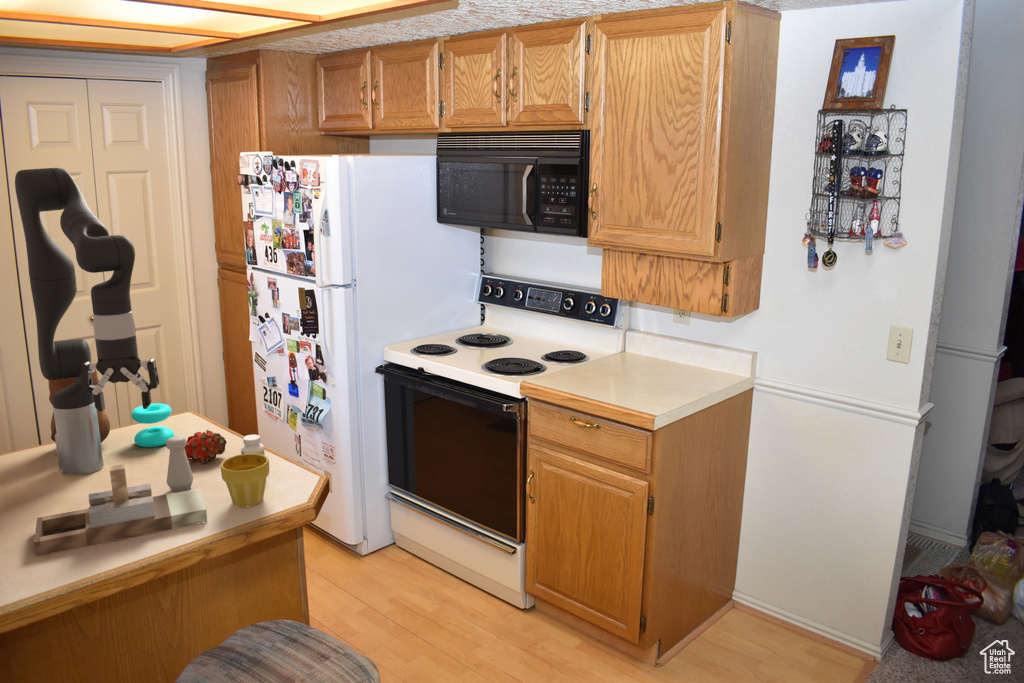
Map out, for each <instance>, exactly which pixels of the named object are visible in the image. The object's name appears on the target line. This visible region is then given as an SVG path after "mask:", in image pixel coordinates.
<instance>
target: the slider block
mask: <svg viewBox="0 0 1024 683" xmlns="http://www.w3.org/2000/svg"><path fill="white" fill-rule="evenodd" d="M108 467H109V476H110V484H111V490H112V493H113V500H110V501H105V502H106V504H110V503H116V502H121V501H127V500H132V499H137V496H133V497H128V491H127V488H128V485H127V477H126V468H125V463H122V464H116V465H110V466H108Z"/></svg>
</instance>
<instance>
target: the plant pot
mask: <svg viewBox="0 0 1024 683" xmlns="http://www.w3.org/2000/svg"><path fill="white" fill-rule="evenodd" d="M220 474H221V478H222V481H223V482H224V483H225V485H226V487H227V489H228V493H229V496H230V498H231V499H230V500H231V502H232V504H233V506H235V507H237V506H238V508H248V507H247V506H251V507H253V506H252V505H254V506H256V505H255V504H257V505H259V504H260V503H261V502H263V500H264V495H265V489H266V482H267V477H268V476H269V474H270V460H269V458H268V456H267V455H265V456H264V455H262V454H255V453H248V454H236V455H232V456H229V457H228V458H226V459H224V460H223V461H222V462H221V463H220ZM258 503H259V504H258Z"/></svg>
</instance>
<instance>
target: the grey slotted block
mask: <svg viewBox="0 0 1024 683" xmlns="http://www.w3.org/2000/svg"><path fill="white" fill-rule="evenodd" d="M151 486H152V485H151V483H146V484H139V485H135V486H134V485H133V486H130V487H128V486H127V491H128V497H133V496H137V499H132V500H127V501H121V502H116V503H110V504H106V502H105V501H110V500H113V493H112V489H111V490H106V491H101V492H100V491H99V492H95V493H89V494H88V504H89V507H88V508H89V518H90V525H91V529H97V528H102V527H107V526H112V525H118V524H123V523H128V522H133V521H138V520H144V519H149V518H154V517H155V510H154V502H153V497H154V496H153V495H152V487H151Z"/></svg>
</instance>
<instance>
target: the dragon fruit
mask: <svg viewBox="0 0 1024 683" xmlns="http://www.w3.org/2000/svg"><path fill="white" fill-rule="evenodd" d="M193 434H194V435H191V436H188V438H187V439H186V446H185V447H184V449H185V452H186V455H187V459H188V462H191V461H193V462H200V461H201V462H202V464H206V463H207V462H209V461H210V460H211V461H214V460H216V458H217V455H219V456H220V455H223V453H225V451H226V445H227V442H228V441H227V440H226V438H225V437H224V436H222V435H221V434H220V433H219V432H213V431H212V430H209V429H206V430H204V431H203V432H202V431H201V432H200V431H197V432H195V433H193Z"/></svg>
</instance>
